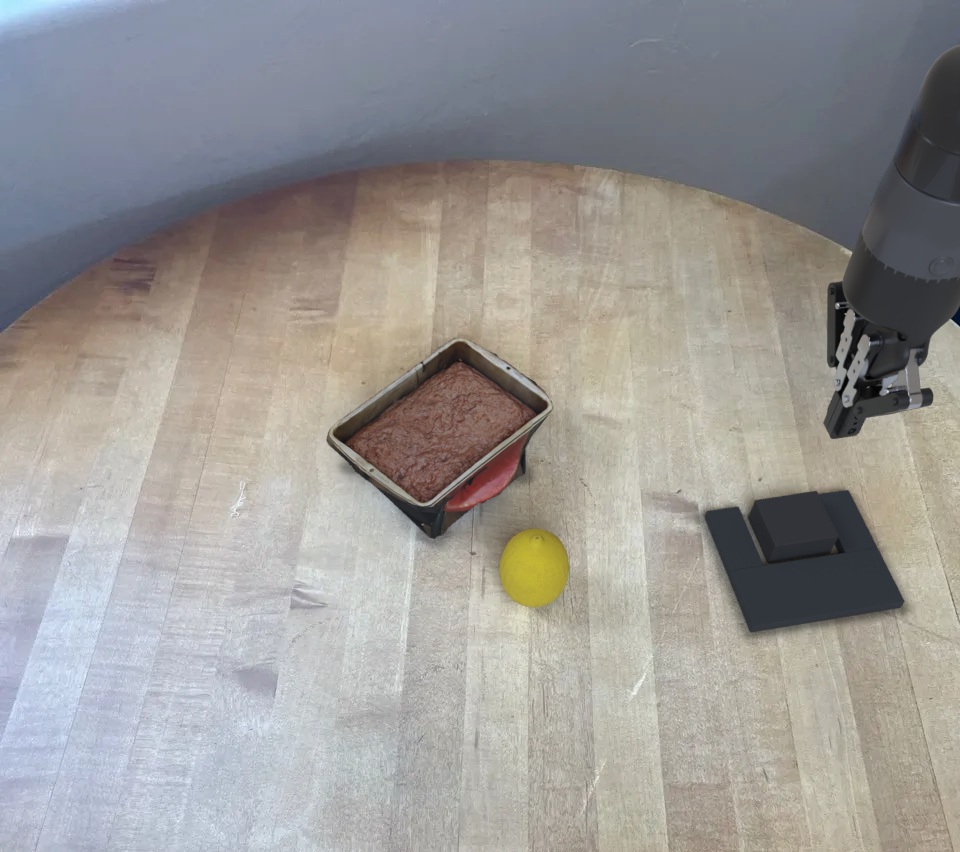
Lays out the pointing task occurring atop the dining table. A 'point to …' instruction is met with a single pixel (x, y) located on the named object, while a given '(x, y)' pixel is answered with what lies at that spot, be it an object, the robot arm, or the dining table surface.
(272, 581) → the dining table surface
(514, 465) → the baking dish
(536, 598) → the lemon
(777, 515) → the black block
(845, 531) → the charcoal pad
